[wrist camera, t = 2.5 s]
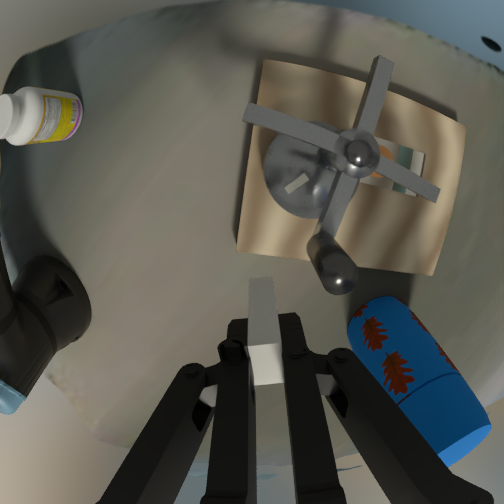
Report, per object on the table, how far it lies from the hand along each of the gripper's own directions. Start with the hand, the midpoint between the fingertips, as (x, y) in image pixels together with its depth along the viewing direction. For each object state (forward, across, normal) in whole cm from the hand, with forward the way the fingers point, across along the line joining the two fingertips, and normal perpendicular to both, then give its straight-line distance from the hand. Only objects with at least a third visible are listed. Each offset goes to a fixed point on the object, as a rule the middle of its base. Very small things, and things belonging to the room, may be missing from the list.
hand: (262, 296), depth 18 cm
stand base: (+16, +14, +5) cm, 22 cm away
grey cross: (+13, +9, +8) cm, 18 cm away
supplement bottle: (+16, -23, +19) cm, 34 cm away
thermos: (+16, +17, -18) cm, 29 cm away
